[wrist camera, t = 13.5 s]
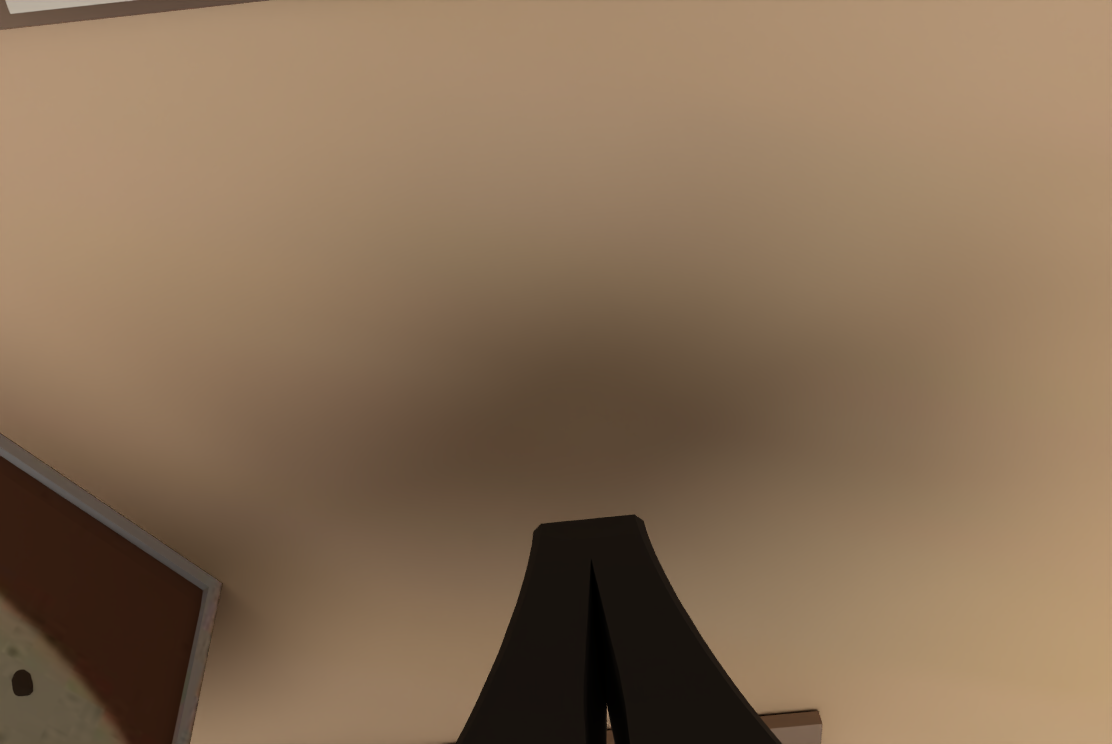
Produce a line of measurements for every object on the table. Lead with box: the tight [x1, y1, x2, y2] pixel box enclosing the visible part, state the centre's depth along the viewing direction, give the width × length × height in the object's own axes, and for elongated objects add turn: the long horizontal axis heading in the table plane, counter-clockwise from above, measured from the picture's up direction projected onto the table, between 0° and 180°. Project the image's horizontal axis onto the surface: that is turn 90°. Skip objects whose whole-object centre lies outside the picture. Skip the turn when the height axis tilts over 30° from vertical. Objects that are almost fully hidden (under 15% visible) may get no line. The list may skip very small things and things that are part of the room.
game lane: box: [0, 0, 822, 744], centre depth 16 cm, size 18×20×1 cm
